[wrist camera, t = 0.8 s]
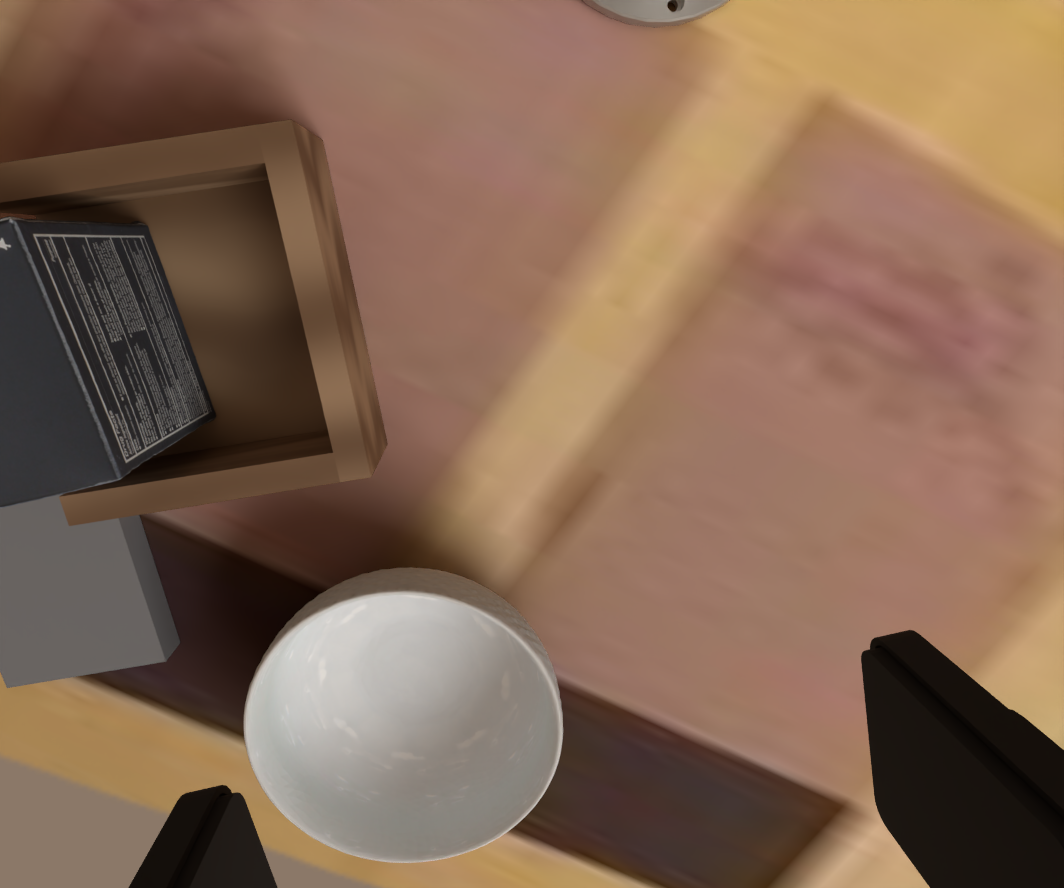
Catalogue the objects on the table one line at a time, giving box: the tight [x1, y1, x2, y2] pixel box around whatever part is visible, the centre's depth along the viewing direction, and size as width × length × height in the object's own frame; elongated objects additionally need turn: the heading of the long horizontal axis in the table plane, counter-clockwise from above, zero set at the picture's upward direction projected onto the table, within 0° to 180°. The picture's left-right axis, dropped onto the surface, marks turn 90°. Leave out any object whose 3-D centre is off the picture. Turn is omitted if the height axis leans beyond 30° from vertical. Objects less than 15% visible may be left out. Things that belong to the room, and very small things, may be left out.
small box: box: [0, 217, 216, 508], centre depth 32 cm, size 11×6×10 cm, turn 13°
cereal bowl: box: [244, 567, 563, 863], centre depth 40 cm, size 17×17×7 cm
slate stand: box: [0, 493, 180, 688], centre depth 40 cm, size 12×9×2 cm
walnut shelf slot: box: [0, 119, 387, 526], centre depth 35 cm, size 16×14×6 cm
